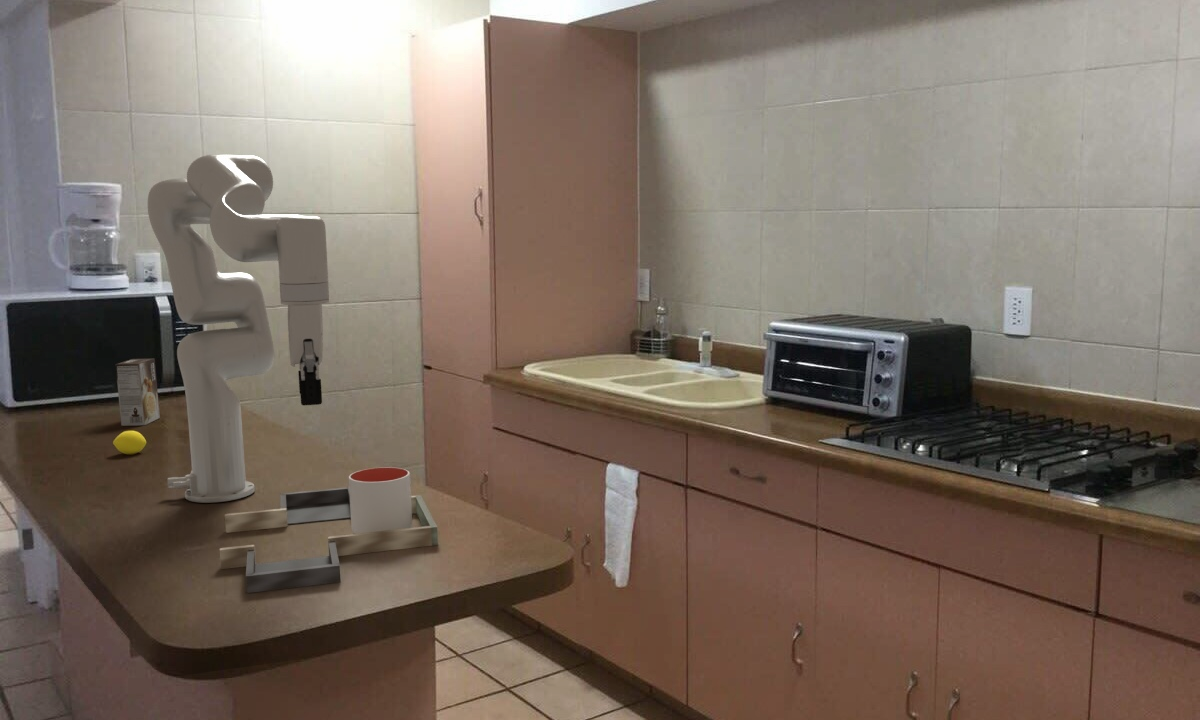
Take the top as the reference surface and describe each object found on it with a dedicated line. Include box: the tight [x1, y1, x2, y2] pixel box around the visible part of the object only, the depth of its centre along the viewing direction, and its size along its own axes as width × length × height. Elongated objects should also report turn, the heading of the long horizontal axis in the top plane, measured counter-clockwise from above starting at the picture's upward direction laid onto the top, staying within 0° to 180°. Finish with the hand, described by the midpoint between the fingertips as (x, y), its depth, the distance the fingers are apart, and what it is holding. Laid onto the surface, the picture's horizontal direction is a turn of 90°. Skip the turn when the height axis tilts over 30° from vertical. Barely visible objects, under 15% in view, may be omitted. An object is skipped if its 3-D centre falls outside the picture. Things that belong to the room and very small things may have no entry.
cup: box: [348, 466, 413, 534], centre depth 177 cm, size 10×10×10 cm
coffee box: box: [115, 358, 161, 427], centre depth 272 cm, size 9×6×16 cm
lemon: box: [112, 430, 147, 455], centre depth 238 cm, size 7×5×5 cm
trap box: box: [219, 486, 439, 594], centre depth 175 cm, size 33×44×3 cm
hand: (310, 399), depth 171 cm, fingers open, 9 cm apart
